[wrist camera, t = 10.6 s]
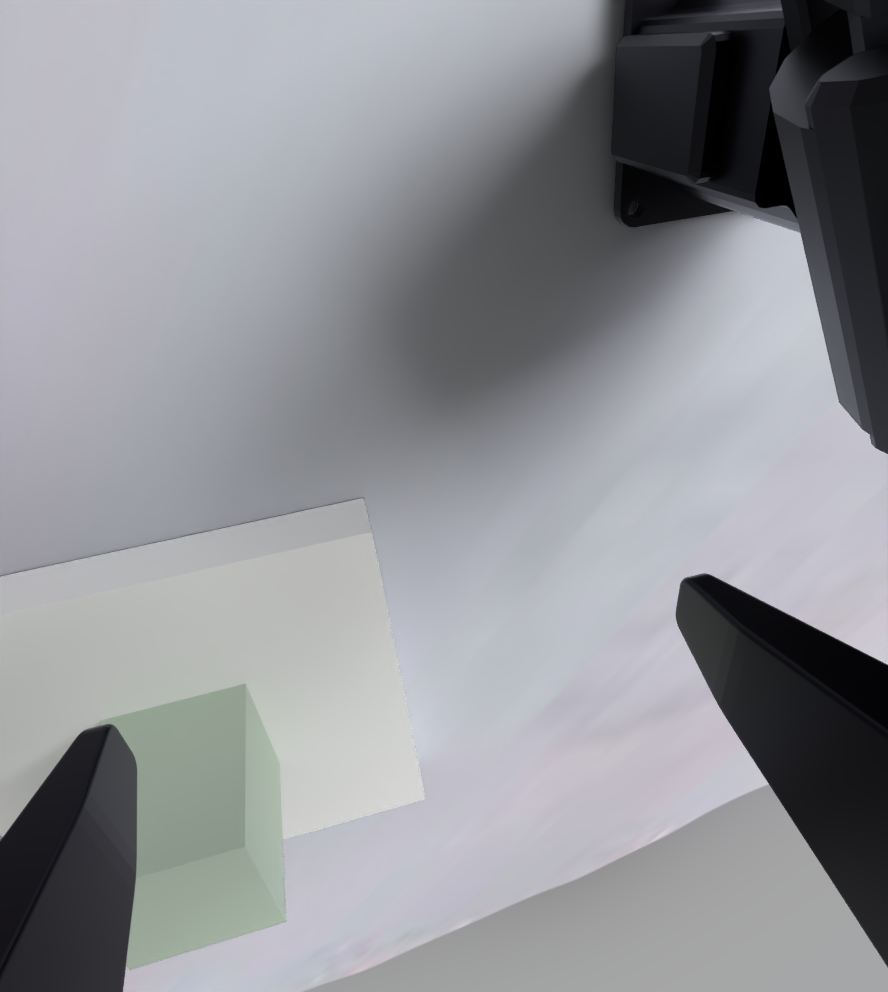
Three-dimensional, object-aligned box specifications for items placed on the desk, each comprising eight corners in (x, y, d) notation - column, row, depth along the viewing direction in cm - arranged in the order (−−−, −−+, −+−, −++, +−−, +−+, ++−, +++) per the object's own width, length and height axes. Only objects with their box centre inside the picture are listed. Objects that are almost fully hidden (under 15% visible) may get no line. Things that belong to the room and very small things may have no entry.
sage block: (245, 683, 23) (244, 846, 19) (279, 762, 26) (286, 921, 22) (101, 720, 23) (61, 899, 18) (152, 797, 26) (130, 969, 21)
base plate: (363, 498, 23) (372, 531, 21) (416, 761, 32) (425, 799, 30) (-141, 606, 20) (-174, 654, 19) (74, 856, 30) (65, 902, 28)
